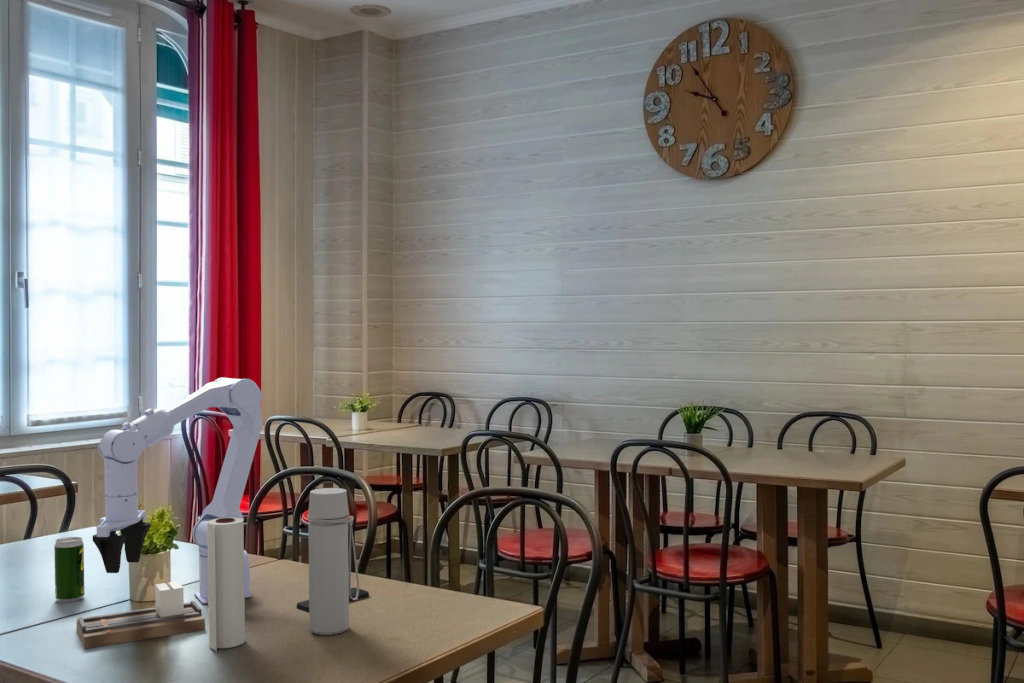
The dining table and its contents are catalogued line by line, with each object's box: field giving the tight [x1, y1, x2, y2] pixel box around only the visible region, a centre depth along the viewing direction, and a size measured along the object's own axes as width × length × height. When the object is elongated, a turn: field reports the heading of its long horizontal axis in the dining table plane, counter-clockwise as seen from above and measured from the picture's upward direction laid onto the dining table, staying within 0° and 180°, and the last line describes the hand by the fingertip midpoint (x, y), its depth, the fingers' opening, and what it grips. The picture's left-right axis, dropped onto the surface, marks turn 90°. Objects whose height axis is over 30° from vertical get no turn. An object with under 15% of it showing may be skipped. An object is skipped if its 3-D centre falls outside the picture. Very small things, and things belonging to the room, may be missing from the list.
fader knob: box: [154, 581, 185, 617], centre depth 179 cm, size 4×5×5 cm
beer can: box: [53, 536, 85, 604], centre depth 196 cm, size 5×5×12 cm
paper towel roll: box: [207, 518, 246, 653], centre depth 168 cm, size 7×6×21 cm
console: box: [75, 600, 206, 650], centre depth 176 cm, size 20×12×3 cm, turn 120°
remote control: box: [296, 587, 370, 613], centre depth 193 cm, size 5×2×15 cm
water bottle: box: [306, 487, 360, 636], centre depth 175 cm, size 9×8×25 cm
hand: (123, 567), depth 183 cm, fingers open, 7 cm apart
